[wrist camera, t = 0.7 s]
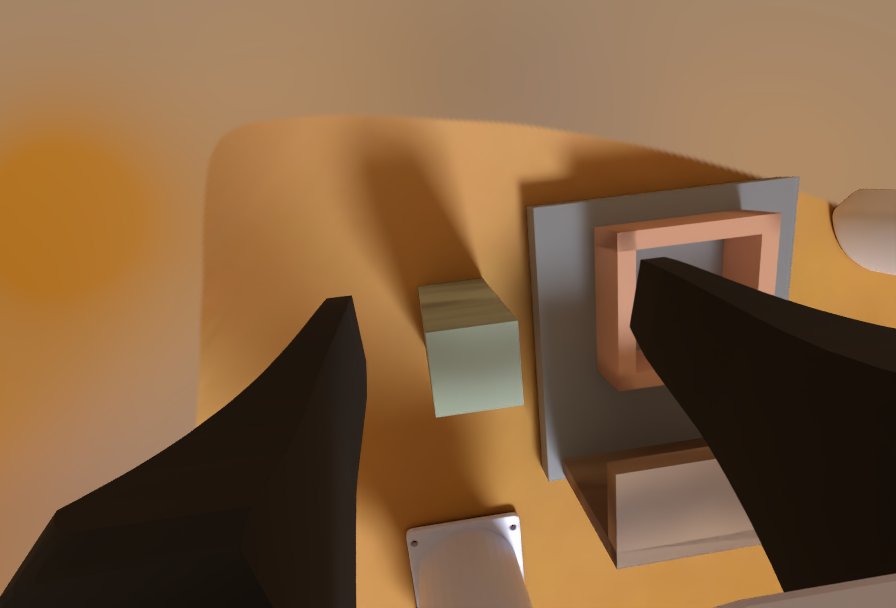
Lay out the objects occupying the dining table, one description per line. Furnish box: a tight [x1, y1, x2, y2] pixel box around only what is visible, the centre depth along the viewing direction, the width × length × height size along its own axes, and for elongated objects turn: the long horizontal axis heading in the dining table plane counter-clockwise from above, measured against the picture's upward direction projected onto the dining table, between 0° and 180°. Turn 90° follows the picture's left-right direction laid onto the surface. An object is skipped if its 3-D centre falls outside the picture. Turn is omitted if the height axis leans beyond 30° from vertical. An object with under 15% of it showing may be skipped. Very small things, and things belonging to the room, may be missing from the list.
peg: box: [418, 278, 524, 418], centre depth 25 cm, size 4×4×9 cm
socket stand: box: [526, 177, 799, 481], centre depth 28 cm, size 18×16×4 cm
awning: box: [563, 438, 761, 569], centre depth 27 cm, size 6×14×8 cm, turn 96°
